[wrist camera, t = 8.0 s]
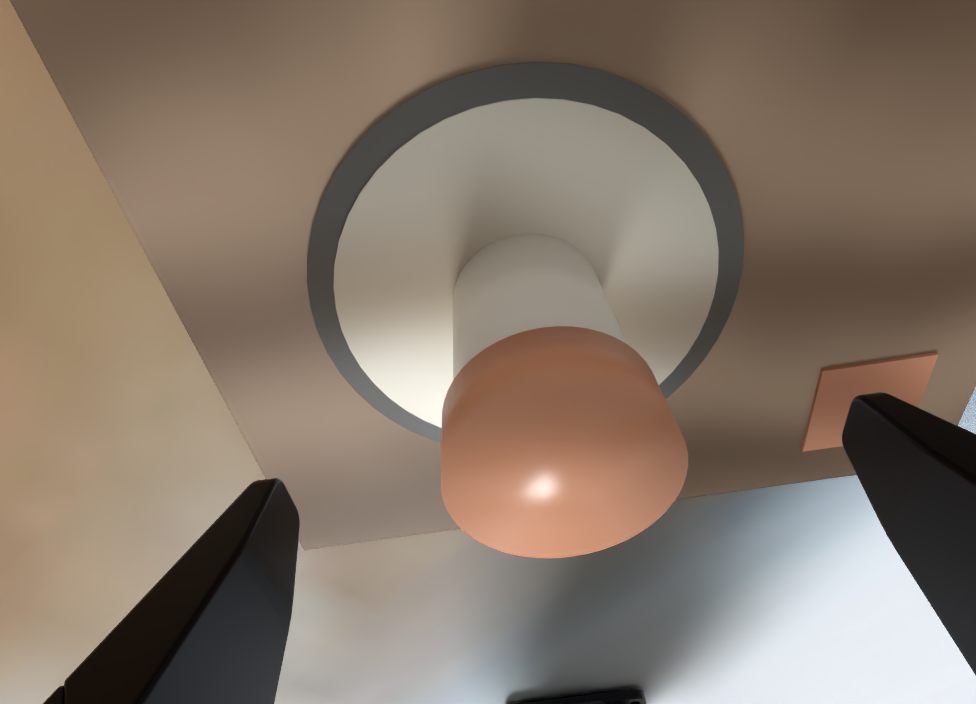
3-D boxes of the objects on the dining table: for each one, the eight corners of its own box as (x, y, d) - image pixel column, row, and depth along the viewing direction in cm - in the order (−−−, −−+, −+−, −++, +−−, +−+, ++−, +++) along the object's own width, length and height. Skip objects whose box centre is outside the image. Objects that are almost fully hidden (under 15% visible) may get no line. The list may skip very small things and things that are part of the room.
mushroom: (609, 355, 14) (682, 541, 10) (459, 377, 15) (463, 571, 10) (605, 211, 12) (697, 366, 8) (429, 239, 12) (416, 407, 8)
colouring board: (922, 444, 18) (945, 468, 18) (309, 529, 19) (303, 555, 18) (1221, -276, 9) (1297, -298, 8) (10, -58, 10) (-31, -59, 9)
